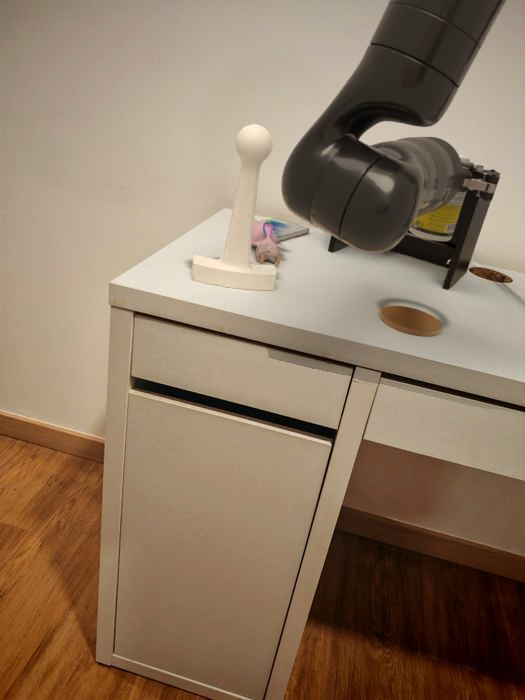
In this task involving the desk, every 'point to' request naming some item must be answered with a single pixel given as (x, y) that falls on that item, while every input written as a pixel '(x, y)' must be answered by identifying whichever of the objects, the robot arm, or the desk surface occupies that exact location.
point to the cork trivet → (410, 320)
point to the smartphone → (287, 229)
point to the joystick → (241, 223)
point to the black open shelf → (444, 252)
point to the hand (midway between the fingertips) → (453, 168)
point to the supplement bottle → (440, 219)
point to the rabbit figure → (266, 242)
